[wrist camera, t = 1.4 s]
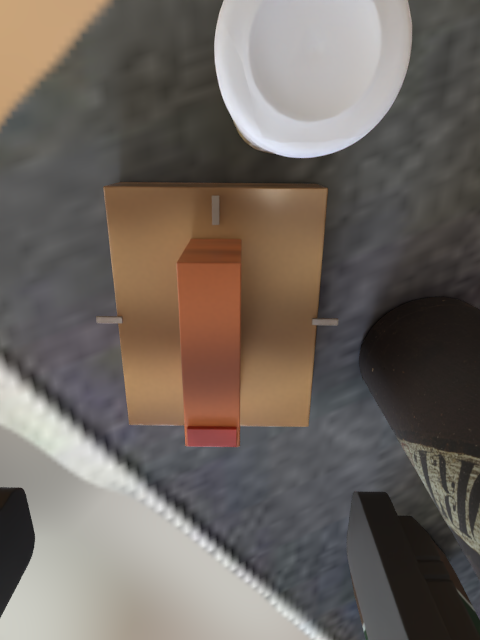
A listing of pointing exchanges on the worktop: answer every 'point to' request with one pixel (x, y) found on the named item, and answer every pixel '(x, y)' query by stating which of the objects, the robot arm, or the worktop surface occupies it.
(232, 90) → the sprinkles bottle
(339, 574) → the worktop surface
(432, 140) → the worktop surface
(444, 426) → the container
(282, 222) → the holder base
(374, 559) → the robot arm
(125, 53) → the worktop surface
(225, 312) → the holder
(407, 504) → the worktop surface
